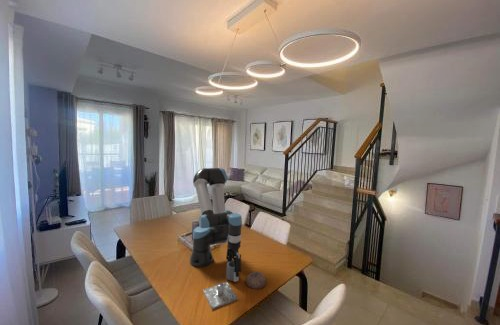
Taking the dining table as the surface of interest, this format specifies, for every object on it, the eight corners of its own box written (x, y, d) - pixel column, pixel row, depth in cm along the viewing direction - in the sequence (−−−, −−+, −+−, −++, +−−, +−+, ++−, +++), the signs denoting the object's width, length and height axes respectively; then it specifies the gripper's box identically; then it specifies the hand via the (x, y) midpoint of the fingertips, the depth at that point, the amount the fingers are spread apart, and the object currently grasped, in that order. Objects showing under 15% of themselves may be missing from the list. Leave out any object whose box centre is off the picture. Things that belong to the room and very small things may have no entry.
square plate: (203, 291, 112) (203, 281, 111) (226, 283, 119) (227, 273, 118) (212, 309, 100) (212, 298, 99) (237, 299, 107) (238, 288, 106)
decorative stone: (243, 287, 117) (243, 277, 116) (249, 274, 128) (249, 266, 128) (263, 292, 113) (263, 282, 113) (268, 278, 125) (268, 270, 124)
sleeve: (224, 274, 125) (224, 262, 124) (235, 271, 129) (235, 259, 128) (229, 282, 118) (230, 269, 117) (241, 278, 122) (242, 266, 121)
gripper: (221, 234, 128) (220, 268, 130) (236, 250, 110) (234, 289, 113) (232, 231, 132) (231, 265, 134) (248, 247, 114) (246, 285, 116)
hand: (232, 276), depth 123 cm, fingers closed on sleeve, 8 cm apart
